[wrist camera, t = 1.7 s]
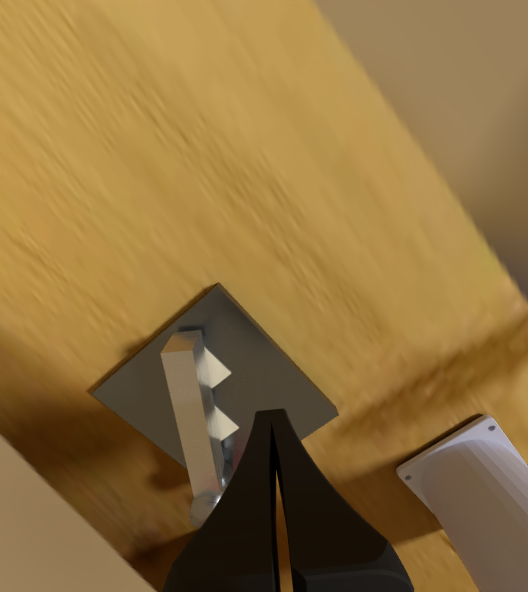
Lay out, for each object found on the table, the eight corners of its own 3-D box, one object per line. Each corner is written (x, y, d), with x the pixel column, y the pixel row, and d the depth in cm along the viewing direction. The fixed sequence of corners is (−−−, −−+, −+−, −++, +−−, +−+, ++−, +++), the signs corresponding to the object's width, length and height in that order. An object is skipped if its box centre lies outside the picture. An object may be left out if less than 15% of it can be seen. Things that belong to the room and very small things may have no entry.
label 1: (231, 372, 18) (231, 373, 18) (202, 395, 18) (202, 396, 18) (192, 335, 17) (191, 335, 17) (162, 359, 17) (162, 359, 17)
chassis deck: (335, 406, 20) (338, 414, 19) (221, 485, 22) (219, 495, 21) (219, 282, 17) (217, 285, 16) (97, 386, 19) (91, 394, 18)
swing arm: (234, 483, 20) (231, 528, 17) (201, 486, 20) (192, 532, 17) (208, 327, 16) (198, 353, 14) (168, 331, 16) (149, 358, 14)
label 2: (238, 427, 19) (238, 428, 19) (211, 446, 19) (211, 447, 19) (202, 395, 18) (202, 396, 18) (175, 415, 19) (174, 417, 18)
